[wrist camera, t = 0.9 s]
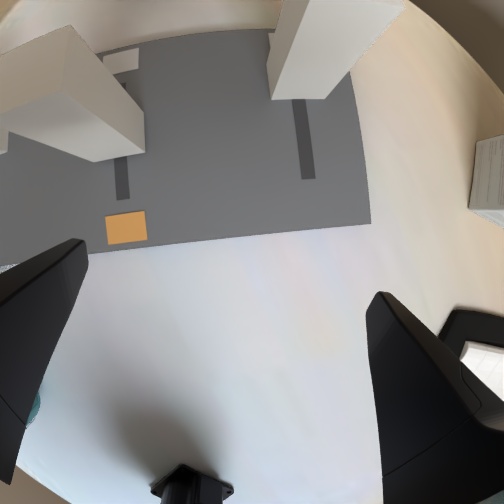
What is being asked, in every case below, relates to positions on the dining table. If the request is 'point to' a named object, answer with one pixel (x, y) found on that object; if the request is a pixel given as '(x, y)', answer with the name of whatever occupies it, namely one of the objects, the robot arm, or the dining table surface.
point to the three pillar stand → (211, 141)
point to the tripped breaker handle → (68, 99)
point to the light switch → (478, 345)
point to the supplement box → (489, 180)
